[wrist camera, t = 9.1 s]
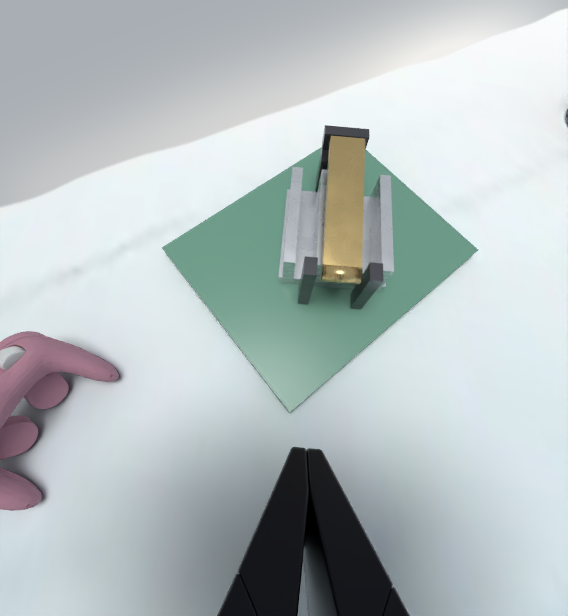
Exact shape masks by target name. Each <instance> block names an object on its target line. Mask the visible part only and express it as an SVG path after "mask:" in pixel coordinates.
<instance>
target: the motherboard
mask: <svg viewBox="0 0 568 616" xmlns="http://www.w3.org/2000/svg"><path fill="white" fill-rule="evenodd" d="M321 149H322V147H321V148H320V149H318V150H316V151H315V152H313V153H312V154H310V155H308V156H307V157H305V158H304V159H302V160H300V161H299V162H297V163H296V164H294V165H293V166H291V167H289V168H288V169H286V170H285V171H283V172H281V173H280V174H278V175H277V176H275V177H273V178H272V179H270V180H269V181H267V182H265V183H264V184H262V185H261V186H259V187H258V188H256V189H254V190H253V191H251V192H250V193H248V194H246V195H245V196H243V197H242V198H240V199H238V200H237V201H235V202H234V203H232V204H231V205H229V206H227V207H226V208H224V209H223V210H221V211H219V212H218V213H216V214H215V215H213V216H211V217H210V218H208V219H207V220H205V221H204V222H202V223H200V224H199V225H197V226H196V227H194V228H192V229H191V230H189V231H188V232H186V233H184V234H183V235H181V236H180V237H178V238H177V239H175V240H173V241H172V242H170V243H169V244H167V245H165V246H164V247H162V248H163V250H164V251H165V253H166V254H167V256H168V257H169V258H170V259H171V261H172V262H173V263H174V265H175V266H176V267H177V269H178V270H179V271H180V272H181V274H182V275H183V276H184V278H185V279H186V280H187V281H188V283H189V284H190V285H191V287H192V288H193V289H194V290H195V292H196V293H197V294H198V296H199V297H200V298H201V299H202V301H203V302H204V303H205V305H206V306H207V307H208V308H209V310H210V311H211V312H212V314H213V315H214V316H215V317H216V319H217V320H218V321H219V323H220V324H221V325H222V326H223V328H224V329H225V330H226V332H227V333H228V334H229V336H230V337H231V338H232V339H233V341H234V342H235V343H236V345H237V346H238V347H239V348H240V350H241V351H242V352H243V354H244V355H245V356H246V357H247V359H248V360H249V361H250V363H251V364H252V365H253V366H254V368H255V369H256V370H257V372H258V373H259V374H260V375H261V377H262V378H263V379H264V381H265V382H266V383H267V384H268V386H269V387H270V388H271V390H272V391H273V392H274V394H275V395H276V396H277V397H278V399H279V400H280V401H281V403H282V404H283V405H284V406H285V408H286V409H287V410H288V412H289V413H290V412H291V411H292V410H293V409H294V408H296V407H297V406H298V405H299V404H300V403H301V402H303V401H304V400H305V399H306V398H307V397H308V396H310V395H311V394H312V393H313V392H314V391H315V390H317V389H318V388H319V387H320V386H321V385H322V384H323V383H325V382H326V381H327V380H328V379H329V378H330V377H332V376H333V375H334V374H335V373H336V372H337V371H339V370H340V369H341V368H342V367H343V366H344V365H346V364H347V363H348V362H349V361H350V360H351V359H352V358H354V357H355V356H356V355H357V354H358V353H359V352H361V351H362V350H363V349H364V348H365V347H366V346H368V345H369V344H370V343H371V342H372V341H373V340H375V339H376V338H377V337H378V336H379V335H380V334H381V333H383V332H384V331H385V330H386V329H387V328H388V327H390V326H391V325H392V324H393V323H394V322H395V321H397V320H398V319H399V318H400V317H401V316H402V315H404V314H405V313H406V312H407V311H408V310H409V309H410V308H412V307H413V306H414V305H415V304H416V303H417V302H419V301H420V300H421V299H422V298H423V297H424V296H426V295H427V294H428V293H429V292H430V291H431V290H433V289H434V288H435V287H436V286H437V285H438V284H439V283H441V282H442V281H443V280H444V279H445V278H446V277H448V276H449V275H450V274H451V273H452V272H453V271H455V270H456V269H457V268H458V267H459V266H460V265H462V264H463V263H464V262H465V261H466V260H467V259H468V258H470V257H471V256H472V255H473V254H474V253H475V252H477V251H478V249H477V248H476V247H474V246H473V245H472V244H471V243H470V242H469V241H468V240H467V239H465V238H464V237H463V236H462V235H461V234H460V233H459V232H458V231H456V230H455V229H454V228H453V227H452V226H451V225H450V224H449V223H448V222H446V221H445V220H444V219H443V218H442V217H441V216H440V215H439V214H437V213H436V212H435V211H434V210H433V209H432V208H431V207H430V206H428V205H427V204H426V203H425V202H424V201H423V200H422V199H421V198H419V197H418V196H417V195H416V194H415V193H414V192H413V191H412V190H410V189H409V188H408V187H407V186H406V185H405V184H404V183H403V182H402V181H400V180H399V179H398V178H397V177H396V176H395V175H394V174H393V173H391V172H390V171H389V170H388V169H387V168H386V167H385V166H384V165H382V164H381V163H380V162H379V161H378V160H377V159H376V158H375V157H373V156H372V155H371V154H370V153H369V152H368V151H367V150H366V149H365V172H364V196H368V197H371V194H372V192H373V190H374V188H375V185H376V183H377V181H378V178H379V176H380V175H390V176H391V198H392V227H393V256H394V272H393V274H392V275H391V276H390V277H389V278H388V280H387V281H386V287H385V289H384V290H383V291H382V292H377V291H375V293H374V294H373V295H372V296H371V298H370V299H369V300H368V301H367V303H366V304H365V305H364V306H363V308H362V309H361V310H360V309H350V296H351V292H352V291H353V289H344V288H333V287H321V286H314V287H313V290H312V293H311V297H310V300H309V303H308V305H304V304H298V291H299V284H288V283H278V277H279V267H280V257H281V247H282V237H283V227H284V217H285V207H286V197H287V189H290V188H291V178H292V167H301V168H303V176H302V188H301V191H312V192H315V188H316V177H317V171H318V166H319V160H320V154H321Z"/></svg>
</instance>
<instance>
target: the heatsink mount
mask: <svg viewBox="0 0 568 616" xmlns="http://www.w3.org/2000/svg"><path fill="white" fill-rule="evenodd" d="M331 136H341V137H352V138H364V139H365V149H366V146H367V143H368V140H369V129H359V128H348V127H337V126H326V125H325V129H324V135H323V141H322V149H321V154H320V160H319V166H318V171H317V177H316V188H315V192H312V191H301V188H302V176H303V168H301V167H292V178H291V188H290V189H287V197H286V207H285V217H284V227H283V237H282V247H281V257H280V267H279V277H278V283H288V284H299V291H298V304H304V305H308V303H309V300H310V297H311V293H312V290H313V287H314V286H321V287H333V288H344V289H353V291H352V292H351V296H350V309H360V310H361V309H362V308H363V306H364V305H365V304H366V303H367V301H368V300H369V299H370V298H371V296H372V295H373V294H374V293H375V291H377V292H382V291H383V290H384V289H385V287H386V281H387V280H388V278H389V277H390V276H391V275H392V274H393V272H394V256H393V227H392V198H391V176H390V175H380V176H379V178H378V181H377V183H376V185H375V188H374V190H373V192H372V194H371V197H368V196H364V211H363V250H362V270H363V274H362V280H361V283H360V284H348V283H337V282H326V281H321V268H322V252H323V235H324V219H325V202H326V186H327V170H328V153H329V142H330V137H331Z"/></svg>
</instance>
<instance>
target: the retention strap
mask: <svg viewBox="0 0 568 616" xmlns="http://www.w3.org/2000/svg"><path fill="white" fill-rule="evenodd" d="M364 172H365V139H364V138H352V137H341V136H331V137H330V142H329V153H328V170H327V186H326V202H325V219H324V235H323V252H322V268H321V281H326V282H337V283H348V284H360V283H361V280H362V274H363V270H362V250H363V211H364Z"/></svg>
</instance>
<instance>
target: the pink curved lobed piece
mask: <svg viewBox="0 0 568 616" xmlns="http://www.w3.org/2000/svg"><path fill="white" fill-rule="evenodd" d="M60 372H66V373H72V374H76V375H80V376H83V377H86V378H90V379H93V380H98V381H115V380H117V379H118V377H119V374H118V372H117V370H116V369H115V368H114V367H113V366H112V365H111V364H109V363H108V362H106V361H105V360H103V359H101V358H100V357H98V356H96V355H93V354H91V353H89V352H87V351H85V350H83V349H81V348H79V347H76V346H74V345H71V344H68V343H65V342H62V341H59V340H56V339H53V338H50V337H46V336H45V335H43V334H40V333H37V332H29V331H27V332H21V333H17V334H14V335H12V336H9V337H7V338H6V339H4V340H3V341H1V342H0V460H2V459H5V458H9V457H12V456H16V455H19V454H21V453H23V452H25V451H27V450H28V449H29V448H30V447H31V446H32V445H33V444H34V442H35V441H36V439H37V436H38V428H37V426H36V425H35V424H34V423H33V422H32V421H31V420H30V419H29V418H27V417H25V416H11V417H9V416H10V415H11V413H12V412H13V411H14V409H15V408H16V406H17V405H18V404H19V402H20V401H21V400H22V398H23V397H24V398H25V399H26V400H27V401H28V402H29V403H30V404H31V405H32V406H33V407H35V408H38V409H49V408H52V407H54V406H55V405H57V404H59V403H60V402H61V401H62V400H63V399H64V398H65V397H66V395H67V393H68V390H69V387H68V384H67V382H66V381H65V379H64V378H63V377H62V376H61V374H60ZM40 500H41V492H40V491H39V490H38V488H37V487H36V486H35V485H34V484H32V483H31V482H30V481H28V480H27V479H25V478H23V477H21V476H19V475H17V474H15V473H13V472H11V471H8V470H6V469H3V468H1V467H0V509H3V510H11V511H12V510H24V509H28V508H31V507H34V506H36V505H37V504H38V503H39V502H40Z"/></svg>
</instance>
